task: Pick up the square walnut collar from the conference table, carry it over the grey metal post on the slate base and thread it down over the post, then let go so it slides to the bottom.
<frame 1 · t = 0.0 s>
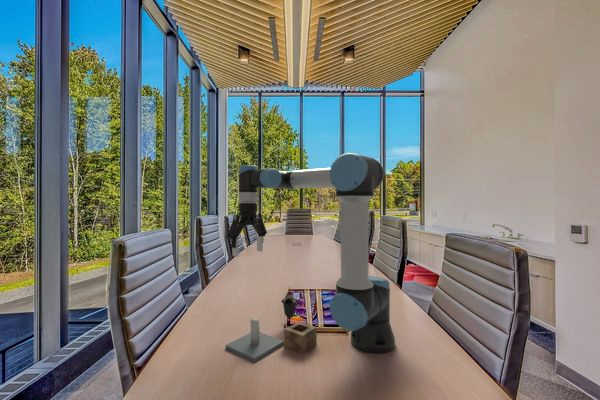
hand: (248, 253, 123), 28 cm above the table, fingers open, 13 cm apart
sundae: (289, 326, 118), on the table
post stand: (255, 346, 102), on the table
collar: (300, 345, 102), on the table
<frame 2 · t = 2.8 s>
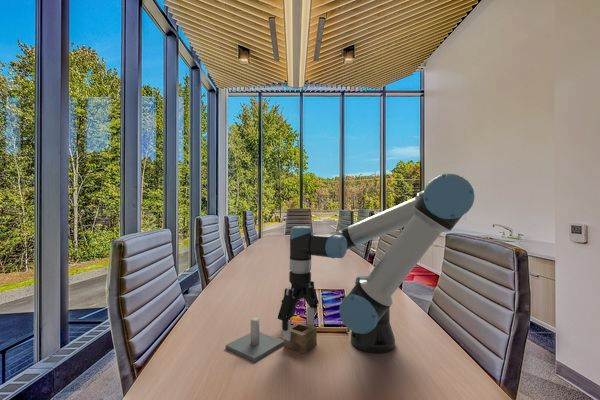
hand: (299, 332, 103), 5 cm above the table, fingers open, 13 cm apart
nothing on the table moved.
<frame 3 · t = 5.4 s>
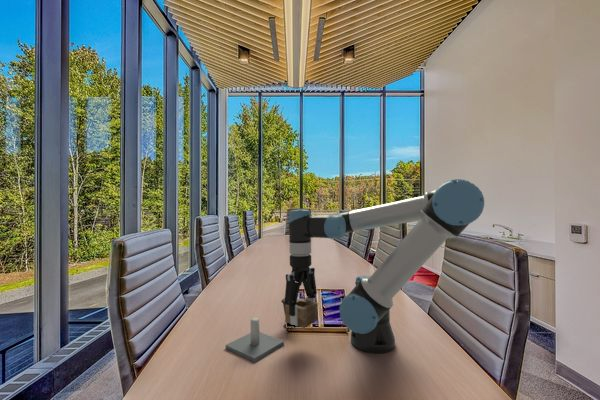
hand: (302, 320, 102), 9 cm above the table, fingers closed on collar, 8 cm apart
collar: (301, 321, 102), point 8 cm above the table, touching gripper
everything else where it was.
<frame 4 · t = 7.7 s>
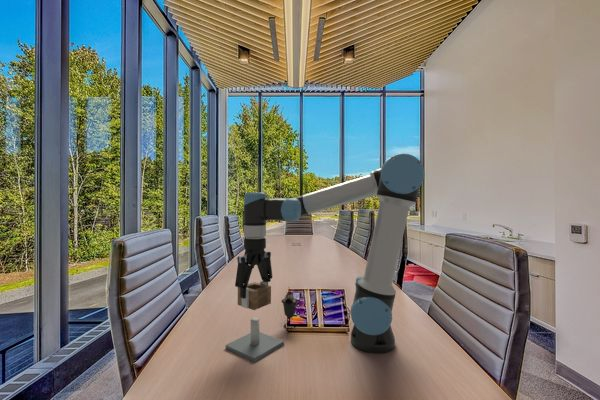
hand: (254, 303, 102), 15 cm above the table, fingers closed on collar, 8 cm apart
collar: (254, 304, 102), point 15 cm above the table, touching gripper
everything else where it was.
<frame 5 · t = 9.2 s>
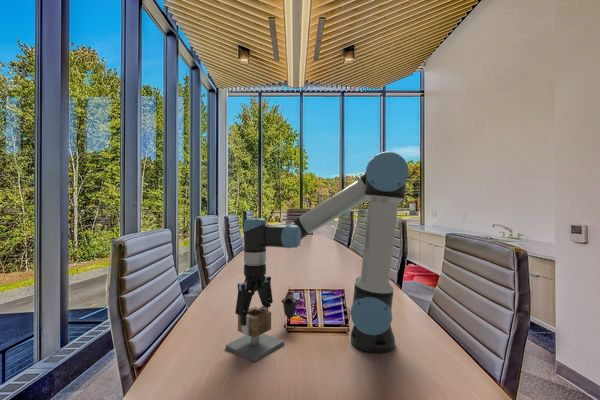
hand: (255, 329, 102), 6 cm above the table, fingers closed on collar, 8 cm apart
collar: (254, 330, 102), point 6 cm above the table, touching gripper
everything else where it was.
when the fingers open (6 cm above the table, at t = 10.3 s): collar drops 4 cm, resting on post stand.
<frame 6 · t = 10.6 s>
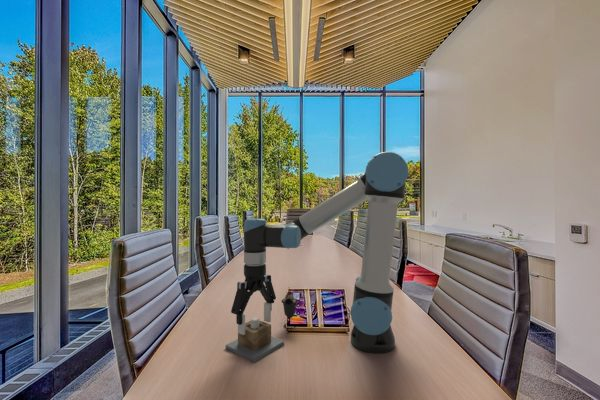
hand: (255, 327, 102), 7 cm above the table, fingers open, 11 cm apart
collar: (254, 342, 102), point 1 cm above the table, touching post stand
everything else where it was.
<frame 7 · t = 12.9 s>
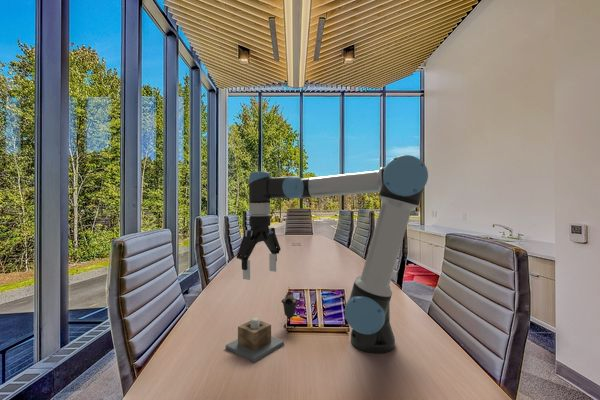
hand: (260, 275, 105), 24 cm above the table, fingers open, 13 cm apart
nothing on the table moved.
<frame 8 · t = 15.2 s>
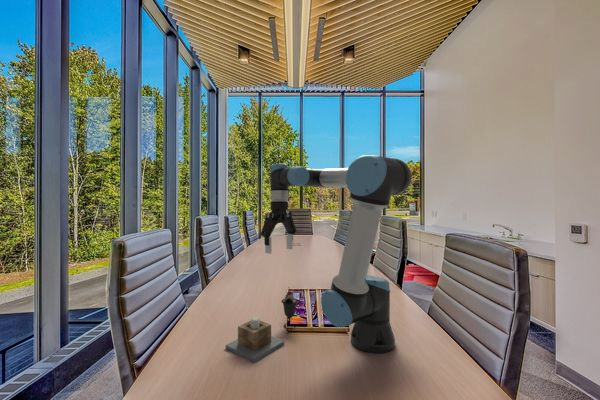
hand: (279, 251, 125), 29 cm above the table, fingers open, 13 cm apart
nothing on the table moved.
at the end: collar 0.2 cm off-centre on the post stand, point 1.2 cm above the post stand's base; collar tilted 0°; the gripper is holding nothing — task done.
